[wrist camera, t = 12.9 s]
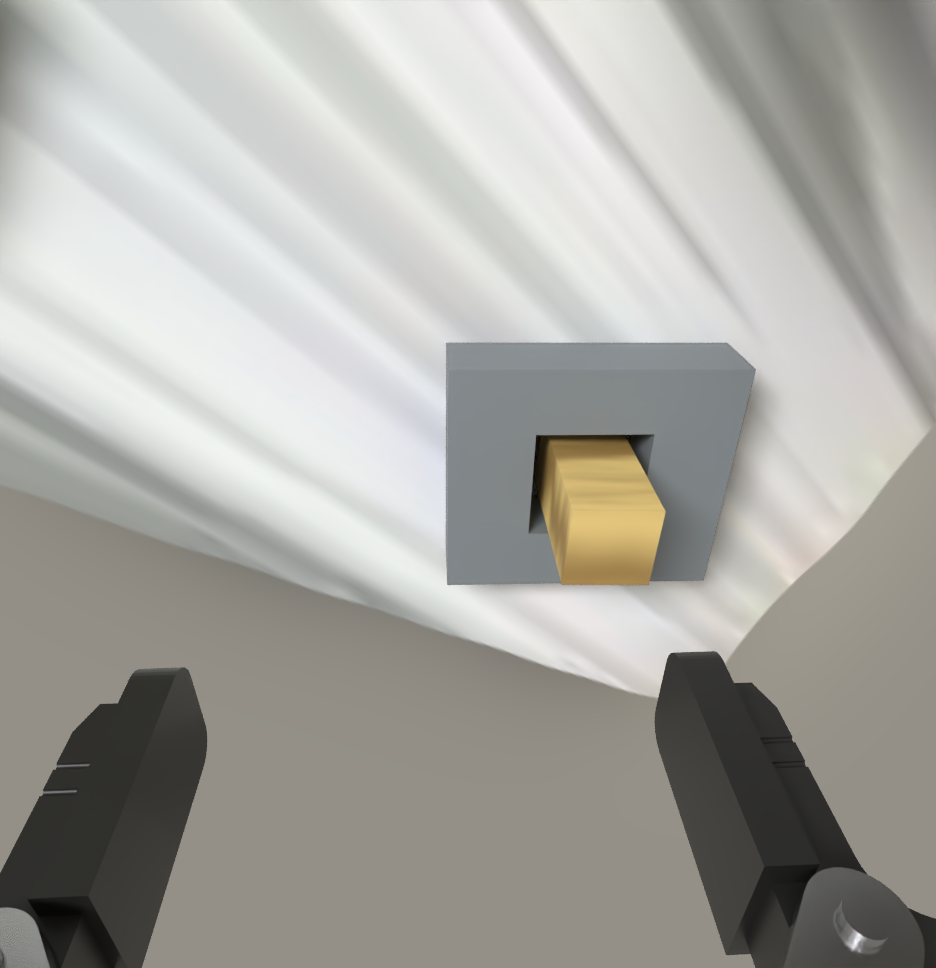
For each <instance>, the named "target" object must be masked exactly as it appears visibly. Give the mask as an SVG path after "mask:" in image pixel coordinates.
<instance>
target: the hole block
mask: <svg viewBox="0 0 936 968" xmlns="http://www.w3.org/2000/svg"><path fill="white" fill-rule="evenodd" d="M755 371H756V369H755V368H754V367H753V366H752V365H751V364H749V363H748V362H747V361H746V360H745V359H744V358H743V357H742V356H741V355H740V354H739V353H738V352H737V351H735V350H734V349H733V348H732V347H731V346H730V345H729V344H728V343H446V562H447V585H475V584H530V583H561V580H560V576H559V572H558V568H557V564H556V561H555V557H554V553H553V549H552V545H551V541H550V537H549V534H548V530H547V526H546V522H545V518H544V514H543V511H542V507H541V503H540V499H539V497H531V494H532V482H533V469H534V456H535V443H536V435H631V437H630V443H629V444H630V446H631V448H632V449H633V451H634V453H635V455H636V457H637V459H638V461H639V463H640V464H641V466H642V468H643V470H644V472H645V474H646V476H647V478H648V479H649V481H650V483H651V485H652V487H653V489H654V491H655V492H656V494H657V496H658V498H659V500H660V502H661V504H662V506H663V507H664V509H665V511H666V513H665V517H664V521H663V526H662V530H661V534H660V538H659V543H658V547H657V551H656V556H655V560H654V564H653V569H652V573H651V577H650V581H693V580H704V576H705V572H706V568H707V564H708V560H709V556H710V552H711V548H712V544H713V540H714V536H715V532H716V528H717V524H718V520H719V516H720V512H721V508H722V504H723V500H724V496H725V492H726V488H727V484H728V480H729V476H730V472H731V468H732V464H733V460H734V456H735V452H736V448H737V444H738V440H739V436H740V432H741V428H742V423H743V419H744V415H745V411H746V407H747V403H748V399H749V395H750V391H751V387H752V383H753V379H754V375H755Z"/></svg>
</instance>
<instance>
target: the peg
mask: <svg viewBox="0 0 936 968" xmlns="http://www.w3.org/2000/svg"><path fill="white" fill-rule="evenodd" d="M535 484H536V488H537V491H538V495H539V499H540V503H541V507H542V511H543V514H544V518H545V522H546V526H547V530H548V534H549V537H550V541H551V545H552V549H553V553H554V557H555V561H556V564H557V568H558V572H559V576H560V580H561V584H562V585H649V581H650V577H651V573H652V569H653V564H654V560H655V556H656V551H657V547H658V543H659V538H660V534H661V530H662V526H663V521H664V517H665V513H666V511H665V509H664V507H663V506H662V504H661V502H660V500H659V498H658V496H657V494H656V492H655V491H654V489H653V487H652V485H651V483H650V481H649V479H648V478H647V476H646V474H645V472H644V470H643V468H642V466H641V464H640V463H639V461H638V459H637V457H636V455H635V453H634V451H633V449H632V448H631V446H630V444H629V442H628V440H627V438H626V436H625V435H541V437H540V446H539V455H538V463H537V472H536V481H535Z"/></svg>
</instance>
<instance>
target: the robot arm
mask: <svg viewBox="0 0 936 968" xmlns="http://www.w3.org/2000/svg"><path fill="white" fill-rule="evenodd" d="M655 732H656V739H657V744H658V748H659V752H660V755H661V758H662V761H663V763H664V767H665V770H666V773H667V776H668V779H669V782H670V785H671V788H672V791H673V794H674V797H675V800H676V803H677V806H678V809H679V812H680V816H681V818H682V822H683V825H684V828H685V831H686V833H687V837H688V840H689V843H690V846H691V849H692V852H693V855H694V858H695V861H696V864H697V867H698V870H699V874H700V877H701V880H702V882H703V886H704V889H705V892H706V895H707V898H708V901H709V904H710V907H711V910H712V913H713V916H714V919H715V922H716V925H717V928H718V931H719V934H720V938H721V941H722V944H723V946H724V950H725V953H726V955H738V954H751V956H752V959H753V961H754V965H755V967H756V968H936V919H934V918H931V917H928V916H925V915H923V914H920V913H918V912H916V911H914V910H911V909H909V908H907V906H906V905H905V904H904V903H903V902H902V900H901V899H900V898H899V897H898V896H897V895H896V894H895V893H894V892H893V891H891V890H890V889H889V888H888V887H886V886H885V885H884V884H882V883H881V882H880V881H878V880H876V879H874V878H873V877H871V876H869V875H867V873H866V872H865V871H864V870H863V868H862V867H861V865H860V864H859V862H858V860H857V859H856V857H855V855H854V853H853V852H852V850H851V848H850V846H849V844H848V842H847V840H846V838H845V836H844V834H843V833H842V830H841V829H840V827H839V825H838V823H837V821H836V819H835V817H834V815H833V813H832V811H831V810H830V808H829V806H828V804H827V802H826V800H825V798H824V796H823V794H822V792H821V791H820V789H819V787H818V785H817V783H816V781H815V780H814V778H813V776H812V773H811V771H810V770H809V768H808V767H806V766H805V762H804V761H805V760H804V758H803V756H802V755H801V752H800V751H799V749H798V747H797V745H796V743H795V742H793V741H792V735H791V734H790V732H789V730H788V728H787V726H786V724H785V722H784V720H783V718H782V716H781V714H780V713H779V711H778V709H777V707H776V706H775V705H774V704H773V703H772V702H771V701H770V700H768V698H767V697H765V695H763V694H762V693H761V692H760V691H759V690H758V689H757V688H756V687H755V686H754V685H753V684H752V683H734V682H733V680H732V678H731V676H730V674H729V672H728V670H727V668H726V666H725V663H724V661H723V660H722V658H721V656H720V655H719V654H718V653H717V652H714V651H712V652H682V653H671V654H670V655H669V656H668V659H667V662H666V667H665V671H664V676H663V680H662V684H661V689H660V693H659V698H658V702H657V707H656V712H655ZM206 751H207V731H206V725H205V722H204V719H203V715H202V712H201V709H200V705H199V702H198V699H197V695H196V692H195V689H194V686H193V682H192V679H191V676H190V673H189V671H188V670H187V669H186V668H157V669H138V670H136V671H135V672H134V673H133V674H132V676H131V677H130V679H129V681H128V683H127V685H126V687H125V689H124V692H123V694H122V696H121V698H120V700H119V702H118V704H100V705H99V706H98V707H97V708H96V709H95V710H94V711H93V712H92V713H91V714H90V715H89V716H88V717H87V718H86V719H85V720H84V721H83V722H82V723H81V724H80V725H79V726H78V727H77V728H76V730H74V731H73V732H72V734H71V736H70V738H69V740H68V742H67V744H66V746H65V748H64V750H63V752H62V754H61V756H60V758H59V760H58V762H57V768H56V770H53V771H52V773H51V775H50V777H49V779H48V782H47V783H46V785H45V787H44V789H43V791H44V793H43V795H42V796H40V797H39V799H38V801H37V803H36V805H35V807H34V808H33V811H32V812H31V814H30V816H29V818H28V820H27V822H26V824H25V826H24V828H23V830H22V832H21V834H20V836H19V838H18V840H17V842H16V844H15V846H14V847H13V849H12V851H11V853H10V855H9V857H8V859H7V861H6V863H5V865H4V867H3V869H2V871H1V873H0V968H142V965H143V962H144V958H145V955H146V952H147V949H148V945H149V942H150V939H151V936H152V933H153V929H154V926H155V923H156V919H157V916H158V913H159V909H160V907H161V903H162V900H163V897H164V894H165V890H166V887H167V884H168V881H169V877H170V874H171V871H172V867H173V864H174V861H175V858H176V855H177V851H178V848H179V845H180V842H181V838H182V835H183V832H184V829H185V825H186V822H187V819H188V816H189V812H190V809H191V806H192V802H193V799H194V796H195V793H196V790H197V787H198V783H199V780H200V777H201V774H202V770H203V767H204V763H205V758H206Z"/></svg>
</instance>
